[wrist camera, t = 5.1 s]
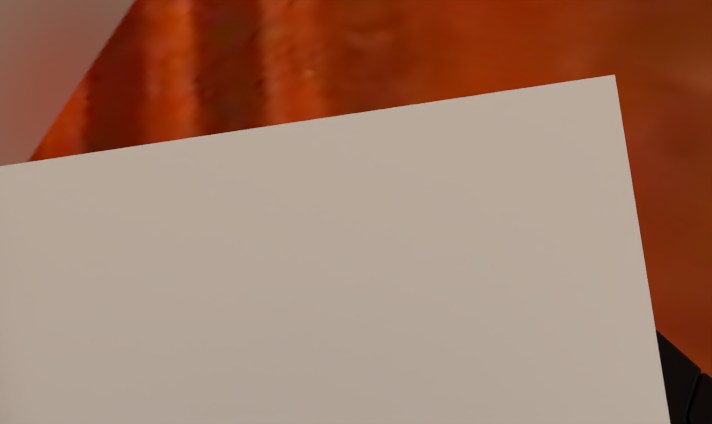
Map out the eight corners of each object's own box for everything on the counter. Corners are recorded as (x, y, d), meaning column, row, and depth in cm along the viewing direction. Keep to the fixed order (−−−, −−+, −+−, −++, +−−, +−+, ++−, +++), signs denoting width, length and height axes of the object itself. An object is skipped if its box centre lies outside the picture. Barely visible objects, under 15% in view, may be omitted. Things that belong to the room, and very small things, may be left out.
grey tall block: (510, 370, 14) (753, 952, 2) (362, 370, 15) (-85, 714, 3) (498, 248, 15) (614, 74, 3) (357, 257, 16) (-25, 169, 4)
